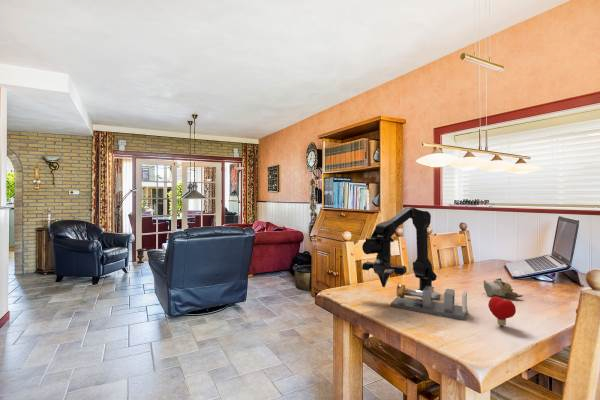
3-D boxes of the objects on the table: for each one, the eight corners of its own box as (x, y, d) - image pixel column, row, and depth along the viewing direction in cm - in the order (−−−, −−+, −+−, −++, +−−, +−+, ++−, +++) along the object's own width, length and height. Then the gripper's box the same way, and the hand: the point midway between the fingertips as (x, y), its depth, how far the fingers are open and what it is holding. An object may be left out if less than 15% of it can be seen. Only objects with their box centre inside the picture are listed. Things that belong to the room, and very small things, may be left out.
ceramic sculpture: (479, 274, 159) (513, 277, 156) (478, 291, 159) (512, 295, 157) (488, 279, 148) (524, 283, 146) (486, 298, 149) (522, 302, 146)
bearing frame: (398, 298, 148) (398, 280, 148) (467, 310, 133) (467, 290, 133) (390, 306, 138) (390, 286, 138) (464, 320, 123) (464, 297, 123)
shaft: (399, 295, 145) (400, 282, 145) (441, 302, 136) (441, 288, 136) (396, 298, 140) (396, 285, 140) (439, 306, 131) (439, 292, 131)
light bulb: (483, 322, 121) (483, 295, 121) (496, 320, 123) (497, 293, 123) (506, 332, 112) (507, 303, 112) (520, 329, 115) (521, 301, 114)
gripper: (357, 253, 144) (357, 288, 144) (400, 257, 134) (399, 295, 134) (366, 249, 153) (366, 282, 153) (406, 253, 143) (406, 288, 143)
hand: (383, 287), depth 146 cm, fingers closed
